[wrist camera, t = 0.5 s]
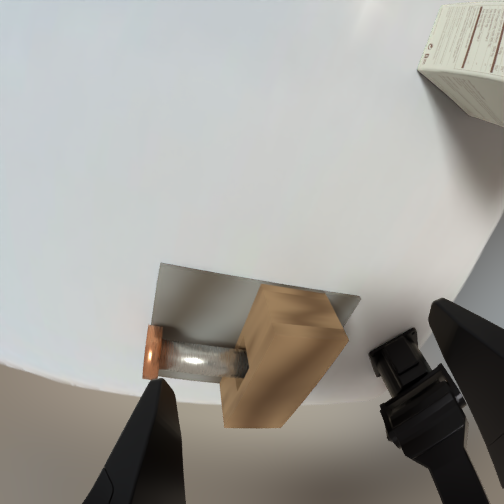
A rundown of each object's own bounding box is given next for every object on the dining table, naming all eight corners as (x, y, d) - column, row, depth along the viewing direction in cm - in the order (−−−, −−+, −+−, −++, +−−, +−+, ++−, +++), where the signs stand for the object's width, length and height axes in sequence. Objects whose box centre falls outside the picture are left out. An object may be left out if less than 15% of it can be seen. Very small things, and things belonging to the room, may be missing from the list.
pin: (265, 329, 27) (276, 370, 23) (250, 361, 29) (257, 399, 25) (150, 313, 24) (144, 356, 20) (146, 348, 26) (141, 388, 22)
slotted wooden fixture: (359, 296, 27) (387, 341, 22) (301, 384, 34) (314, 425, 29) (160, 262, 22) (151, 317, 17) (145, 371, 29) (141, 419, 24)
